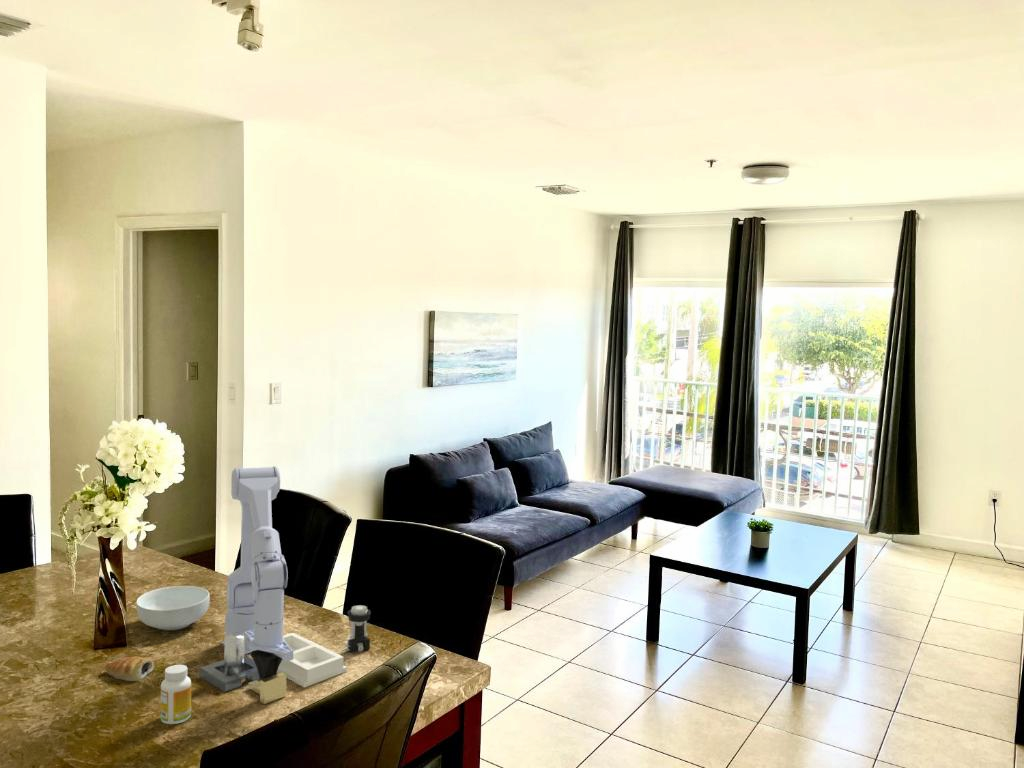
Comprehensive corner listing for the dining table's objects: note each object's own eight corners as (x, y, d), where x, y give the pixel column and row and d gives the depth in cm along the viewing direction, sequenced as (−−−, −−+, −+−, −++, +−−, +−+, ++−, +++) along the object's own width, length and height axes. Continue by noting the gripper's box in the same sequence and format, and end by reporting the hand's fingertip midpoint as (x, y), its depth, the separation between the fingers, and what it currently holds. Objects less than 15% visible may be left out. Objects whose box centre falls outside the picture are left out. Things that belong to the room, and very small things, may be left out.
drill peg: (220, 676, 172) (220, 635, 171) (237, 671, 175) (238, 630, 175) (230, 682, 170) (231, 641, 169) (247, 676, 173) (248, 636, 172)
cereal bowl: (156, 610, 208) (156, 583, 207) (220, 613, 208) (220, 586, 207) (122, 636, 191) (122, 607, 191) (191, 639, 191) (192, 610, 190)
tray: (253, 659, 181) (253, 644, 181) (295, 646, 189) (295, 631, 189) (304, 687, 169) (304, 671, 169) (346, 671, 177) (347, 655, 177)
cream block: (241, 690, 166) (241, 669, 166) (262, 682, 170) (263, 661, 169) (264, 704, 161) (264, 682, 160) (286, 695, 165) (286, 674, 164)
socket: (199, 676, 172) (200, 667, 172) (242, 662, 179) (242, 653, 179) (225, 692, 165) (225, 682, 165) (267, 676, 173) (268, 667, 173)
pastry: (97, 678, 170) (97, 661, 169) (118, 665, 176) (118, 648, 176) (137, 683, 168) (138, 666, 168) (157, 670, 175) (157, 653, 174)
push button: (346, 657, 185) (347, 614, 184) (337, 648, 189) (338, 607, 188) (373, 651, 188) (374, 609, 187) (364, 643, 193) (365, 602, 192)
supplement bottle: (195, 711, 157) (195, 663, 156) (184, 725, 152) (185, 675, 151) (167, 710, 157) (167, 662, 156) (155, 724, 152) (156, 674, 151)
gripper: (231, 615, 165) (230, 679, 166) (271, 635, 155) (270, 703, 157) (261, 606, 170) (260, 669, 171) (302, 625, 161) (301, 691, 162)
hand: (267, 684), depth 164 cm, fingers closed
